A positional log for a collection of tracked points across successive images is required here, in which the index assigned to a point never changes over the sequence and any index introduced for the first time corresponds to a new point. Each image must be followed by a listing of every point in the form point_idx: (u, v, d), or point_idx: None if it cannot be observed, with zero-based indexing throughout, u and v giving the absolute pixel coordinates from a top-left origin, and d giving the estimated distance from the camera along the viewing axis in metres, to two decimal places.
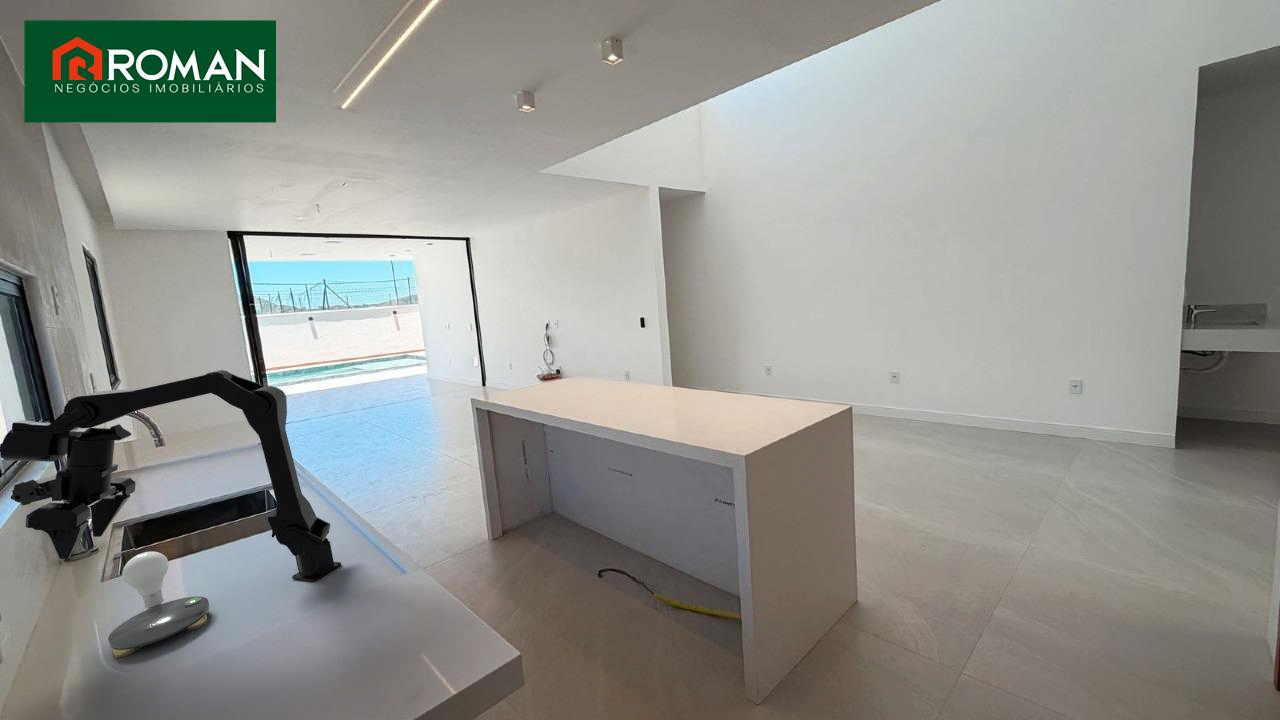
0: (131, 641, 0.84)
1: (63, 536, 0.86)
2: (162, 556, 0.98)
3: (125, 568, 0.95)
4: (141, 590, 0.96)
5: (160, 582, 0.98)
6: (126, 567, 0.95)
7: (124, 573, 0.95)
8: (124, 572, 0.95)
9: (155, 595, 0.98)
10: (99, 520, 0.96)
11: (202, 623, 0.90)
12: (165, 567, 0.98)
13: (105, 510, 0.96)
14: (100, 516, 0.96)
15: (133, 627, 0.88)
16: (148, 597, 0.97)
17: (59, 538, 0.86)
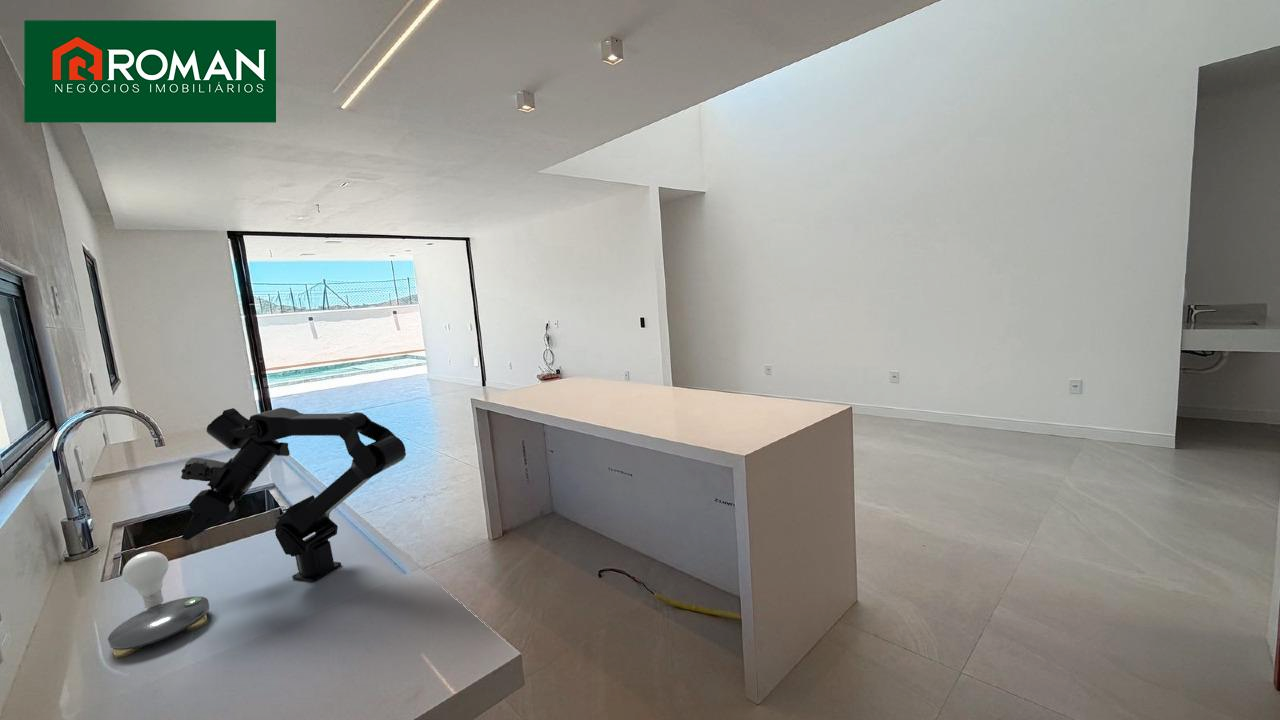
0: (131, 641, 0.84)
1: (200, 521, 0.96)
2: (162, 556, 0.98)
3: (125, 568, 0.95)
4: (141, 590, 0.96)
5: (160, 582, 0.98)
6: (126, 567, 0.95)
7: (124, 573, 0.95)
8: (124, 572, 0.95)
9: (155, 595, 0.98)
10: None
11: (202, 623, 0.90)
12: (165, 567, 0.98)
13: None
14: None
15: (133, 627, 0.88)
16: (148, 597, 0.97)
17: (196, 522, 0.96)
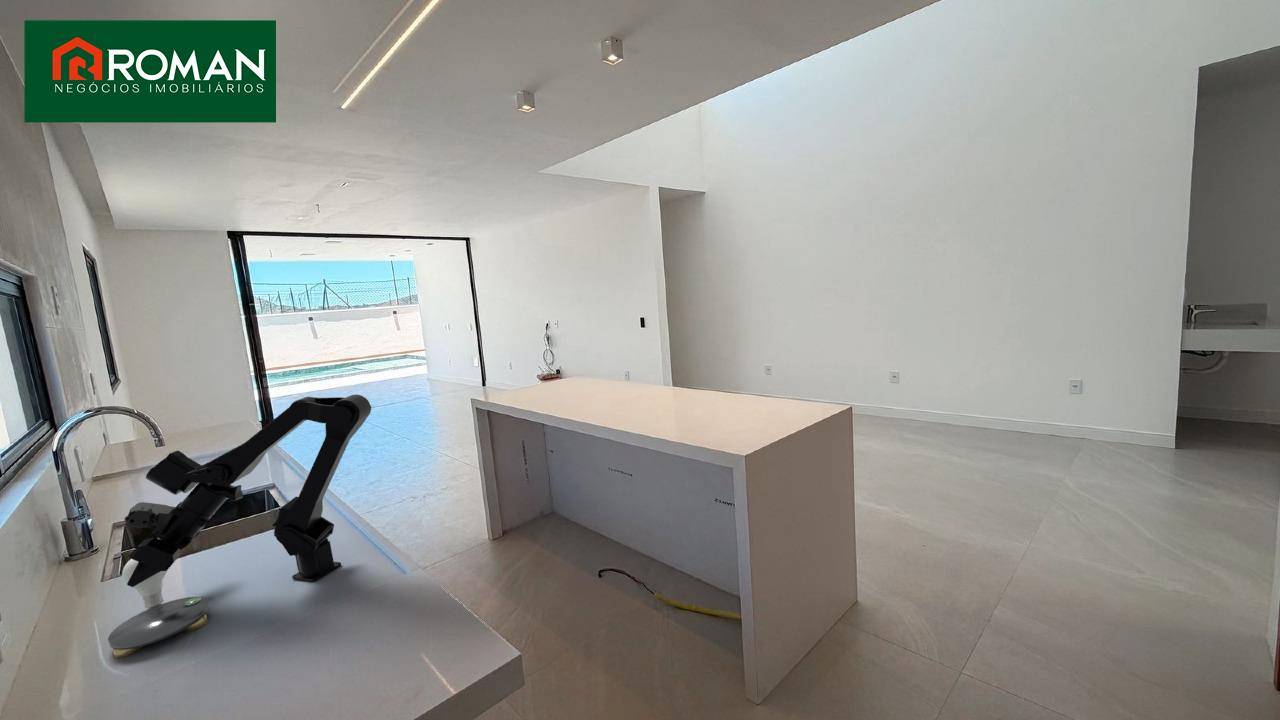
0: (131, 641, 0.84)
1: (146, 567, 0.94)
2: None
3: (125, 568, 0.95)
4: (141, 590, 0.96)
5: (160, 582, 0.98)
6: (126, 567, 0.95)
7: (124, 573, 0.95)
8: (124, 572, 0.95)
9: (155, 595, 0.98)
10: None
11: (202, 623, 0.90)
12: None
13: None
14: None
15: (133, 627, 0.88)
16: (148, 597, 0.97)
17: (142, 568, 0.94)
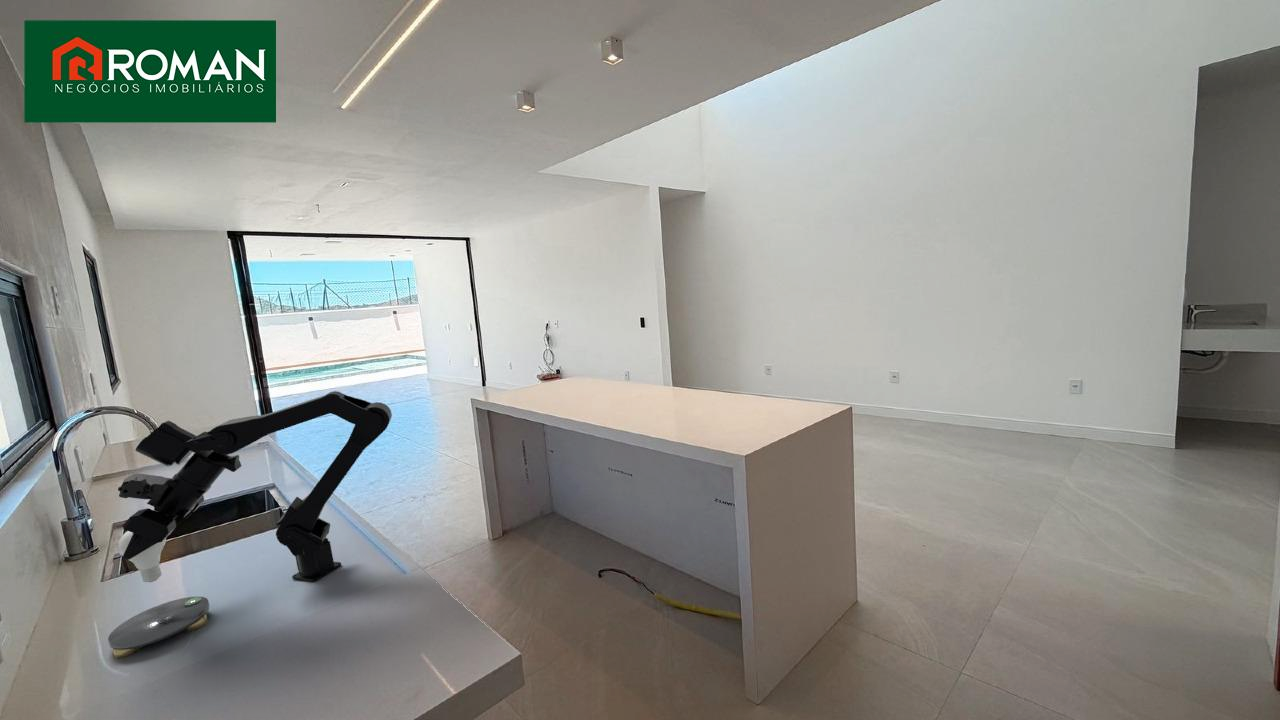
0: (131, 641, 0.84)
1: (141, 539, 0.91)
2: None
3: (120, 540, 0.92)
4: (138, 563, 0.93)
5: (157, 555, 0.95)
6: (122, 539, 0.92)
7: (119, 546, 0.91)
8: (119, 545, 0.91)
9: (152, 569, 0.94)
10: None
11: (202, 623, 0.90)
12: None
13: None
14: None
15: (133, 627, 0.88)
16: (145, 571, 0.94)
17: (137, 540, 0.90)
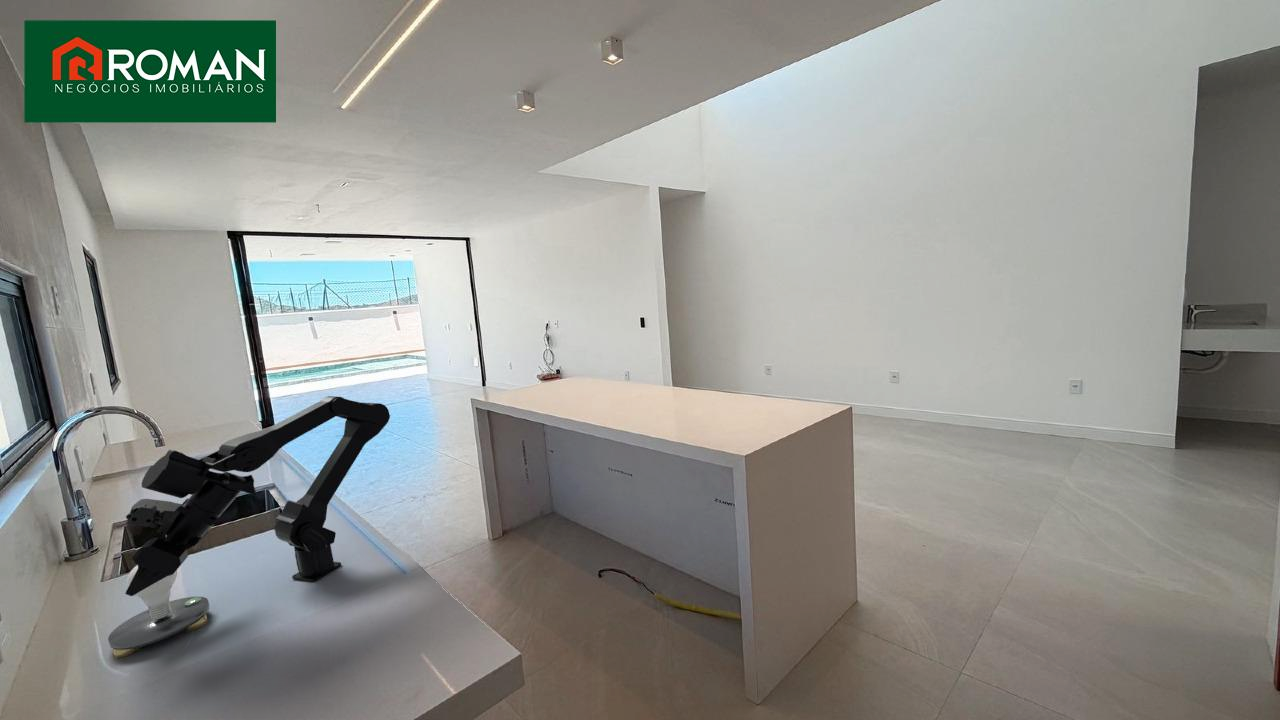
0: (131, 641, 0.84)
1: (147, 574, 0.84)
2: None
3: (130, 576, 0.86)
4: (147, 600, 0.87)
5: (168, 591, 0.89)
6: (131, 575, 0.86)
7: (129, 582, 0.86)
8: (129, 580, 0.86)
9: (162, 605, 0.89)
10: None
11: (202, 623, 0.90)
12: (174, 575, 0.89)
13: None
14: None
15: (133, 627, 0.88)
16: (155, 608, 0.88)
17: (142, 575, 0.83)
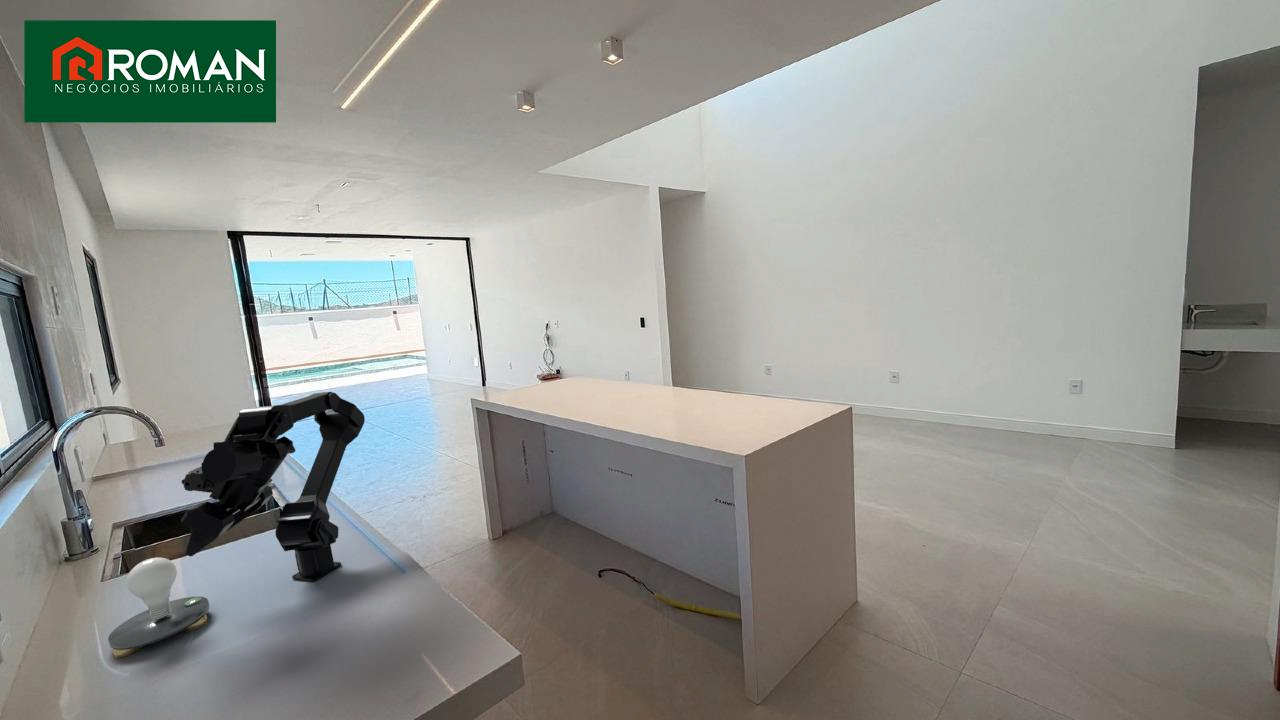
0: (131, 641, 0.84)
1: (200, 536, 0.88)
2: (170, 562, 0.90)
3: (129, 576, 0.86)
4: (147, 600, 0.87)
5: (168, 591, 0.89)
6: (130, 575, 0.86)
7: (128, 582, 0.86)
8: (128, 581, 0.86)
9: (162, 605, 0.89)
10: None
11: (202, 623, 0.90)
12: (173, 575, 0.89)
13: (238, 512, 0.98)
14: None
15: (133, 627, 0.88)
16: (155, 608, 0.88)
17: (196, 537, 0.88)
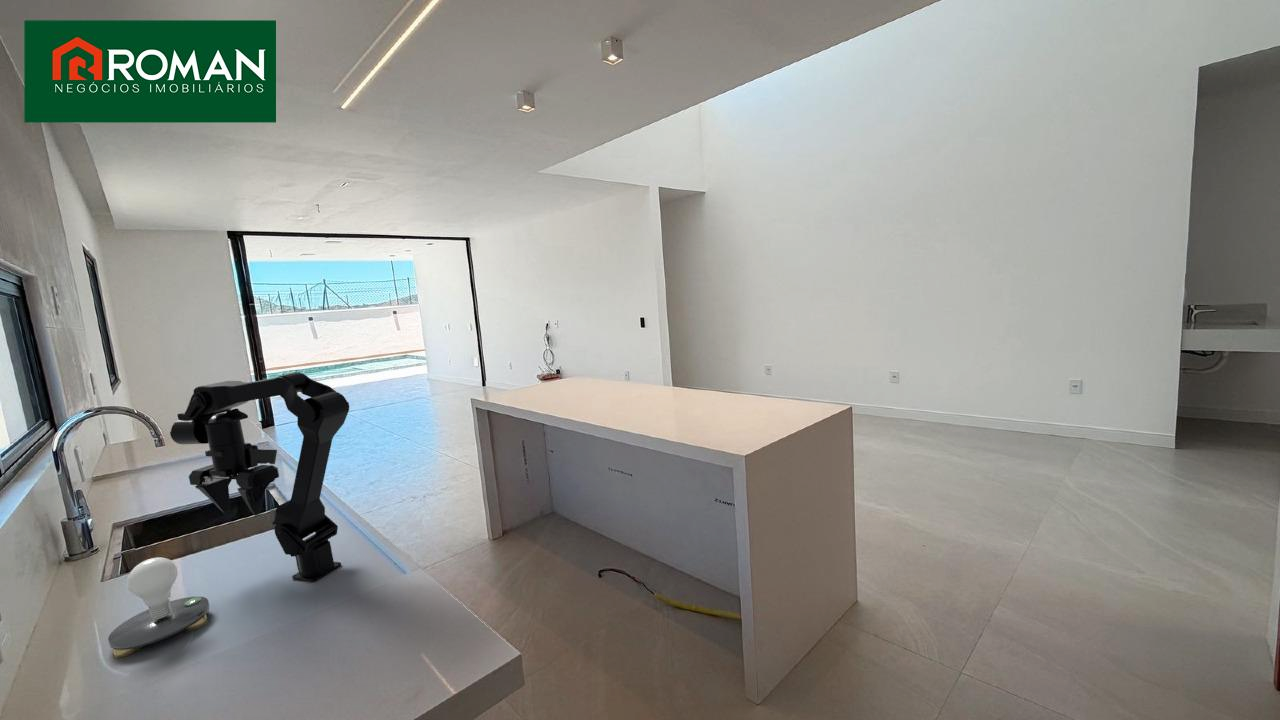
0: (131, 641, 0.84)
1: None
2: (170, 562, 0.90)
3: (130, 576, 0.86)
4: (147, 600, 0.87)
5: (168, 591, 0.89)
6: (131, 574, 0.86)
7: (129, 581, 0.86)
8: (129, 580, 0.86)
9: (163, 605, 0.89)
10: None
11: (202, 623, 0.90)
12: (174, 575, 0.89)
13: None
14: None
15: (133, 627, 0.88)
16: (155, 608, 0.88)
17: None
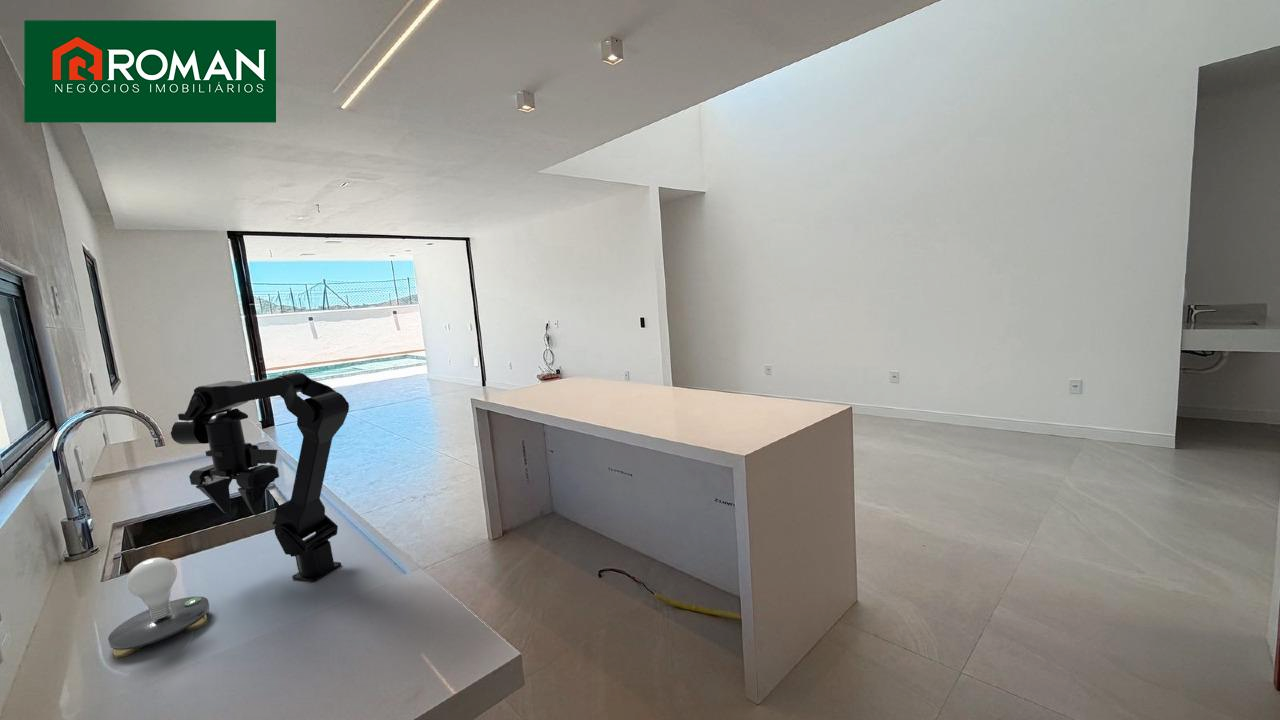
0: (131, 641, 0.84)
1: None
2: (170, 563, 0.90)
3: (130, 576, 0.86)
4: (147, 600, 0.87)
5: (168, 591, 0.89)
6: (131, 575, 0.86)
7: (128, 582, 0.86)
8: (128, 580, 0.86)
9: (162, 605, 0.89)
10: None
11: (202, 623, 0.90)
12: (174, 575, 0.89)
13: None
14: None
15: (133, 627, 0.88)
16: (155, 608, 0.88)
17: None
